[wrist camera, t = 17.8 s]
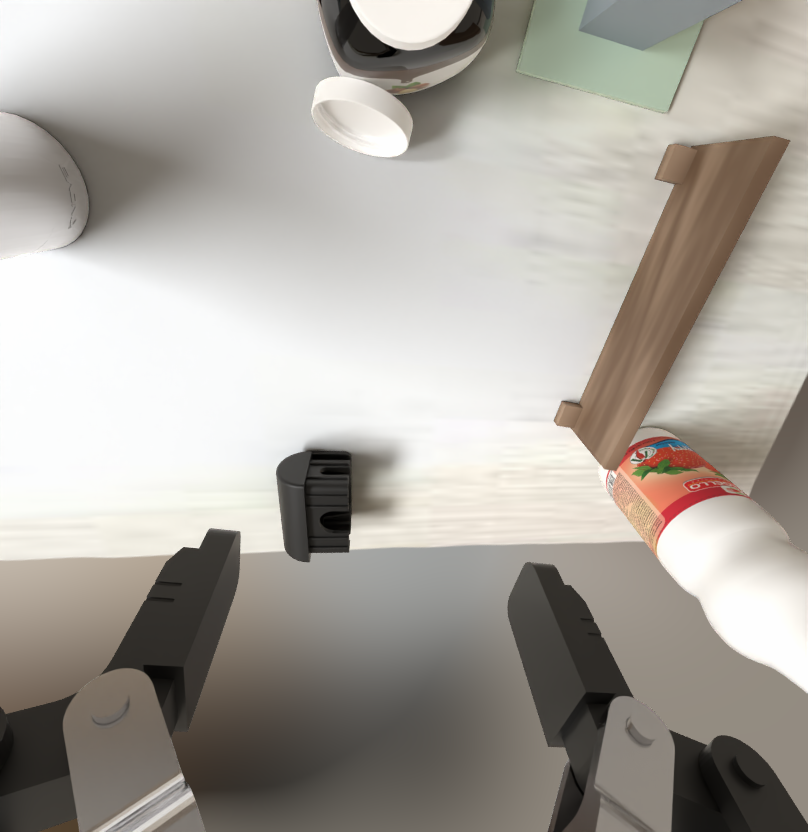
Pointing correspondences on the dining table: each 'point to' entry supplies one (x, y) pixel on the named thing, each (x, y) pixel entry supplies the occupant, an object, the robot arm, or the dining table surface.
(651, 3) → the slate block
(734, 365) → the dining table surface
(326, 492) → the end cap
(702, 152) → the walnut screen
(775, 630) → the fruit juice
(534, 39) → the sage mat
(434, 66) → the spread jar
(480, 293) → the dining table surface
